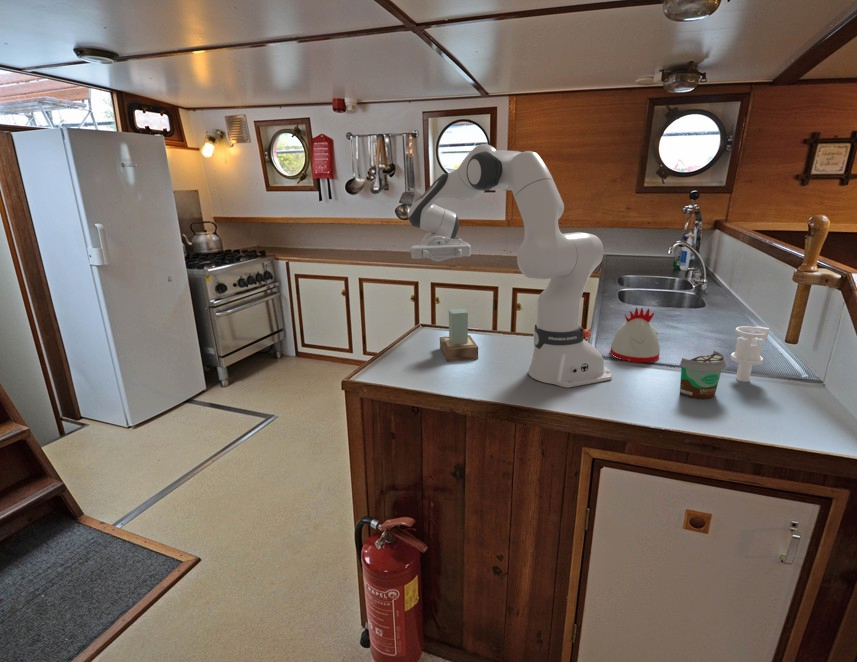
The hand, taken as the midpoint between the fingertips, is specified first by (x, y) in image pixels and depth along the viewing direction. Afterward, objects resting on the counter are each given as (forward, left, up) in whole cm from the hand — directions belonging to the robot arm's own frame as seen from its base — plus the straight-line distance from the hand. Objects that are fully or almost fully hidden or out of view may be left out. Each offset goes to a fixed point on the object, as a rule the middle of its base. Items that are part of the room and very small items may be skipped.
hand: (444, 254), depth 154 cm
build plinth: (-2, +12, -30) cm, 32 cm away
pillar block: (-2, +12, -26) cm, 29 cm away
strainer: (-72, +47, -30) cm, 92 cm away
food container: (-56, +54, -30) cm, 84 cm away
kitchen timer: (-55, +24, -30) cm, 67 cm away
